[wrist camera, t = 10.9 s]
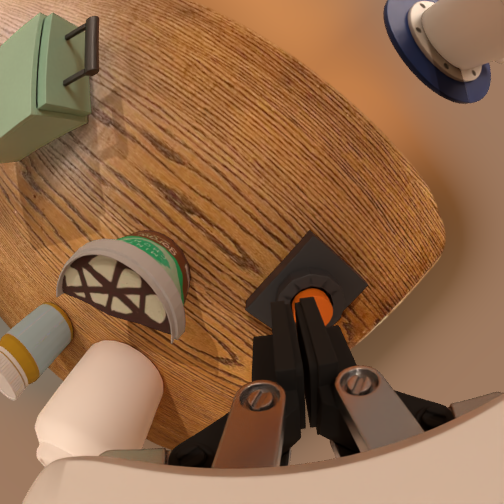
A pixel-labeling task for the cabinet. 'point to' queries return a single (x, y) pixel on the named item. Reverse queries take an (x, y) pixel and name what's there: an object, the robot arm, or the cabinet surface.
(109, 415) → the can
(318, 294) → the button
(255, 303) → the block
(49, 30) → the green cabinet drawer
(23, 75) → the green drawer box
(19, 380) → the bottle
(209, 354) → the cabinet surface
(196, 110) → the cabinet surface
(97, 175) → the cabinet surface
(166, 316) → the food container
